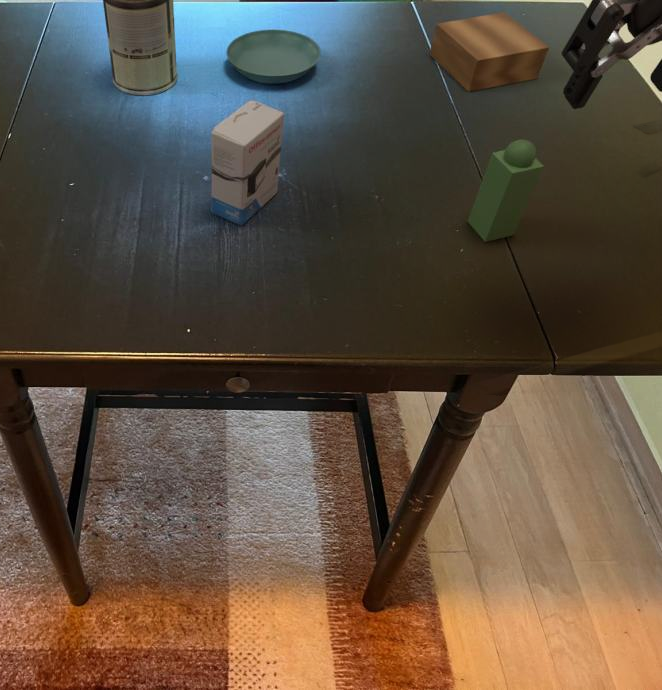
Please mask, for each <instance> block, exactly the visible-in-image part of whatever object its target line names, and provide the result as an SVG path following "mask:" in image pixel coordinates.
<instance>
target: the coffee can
mask: <svg viewBox="0 0 662 690" xmlns="http://www.w3.org/2000/svg"><path fill="white" fill-rule="evenodd" d="M102 4H103V13H104V19H105V20H104V21H105V29H106V34H107V42H108V49H109V50H108V51H109V58H110V67H111V74H112V83H113V85H114V87H116V89H118V90H119V91H121V92H122V93H125V94H128V95H134V96H151V95H157V94H161V93H163V92H166V91H167V90H170V89H171V88H173V86H174V85H176V83H177V82H178V69H177V66H178V65H177V48H176V29H175V11H174V10H175V9H174V8H175V6H174V0H102Z"/></svg>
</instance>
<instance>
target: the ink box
mask: <svg viewBox="0 0 662 690" xmlns="http://www.w3.org/2000/svg"><path fill="white" fill-rule="evenodd" d="M284 120H285V112H283V111H281V110H279V109H276V108H274V107H271V106H268V105H266V104H264V103H261V102H258V101H256V100H254V99H252V100H249V101H247V102H246V103H245V104H243V105H242V106H240V107H239V108H238V109H236V110H235V111H234V112H232V113H231V114H230V115H229V116H228V117H226V118H225V119H223V120H222V121H221V122H219V123H218V124H217V125H215V126H214V127H213V130H212V131H211V213H212V214H214V215H216V216H218V217H220V218H222V219H225V220H227V221H229V222H231V223H234V224H236V225H239V226H241V227H242V226H244V225H245V224H246V223H247V222H248V221H249V220H250V219H251V218H252V217H253V216H254V215H256V214H257V212H259V210H260V209H262V208H263V207H264V206H265V204H267V203H268V202H269V201H270V200H271V199H272V198H273V197H274V196H275V195H277V193H278V187H279V177H280V176H279V175H280V165H281V164H280V163H281V153H282V141H283V131H284Z"/></svg>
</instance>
